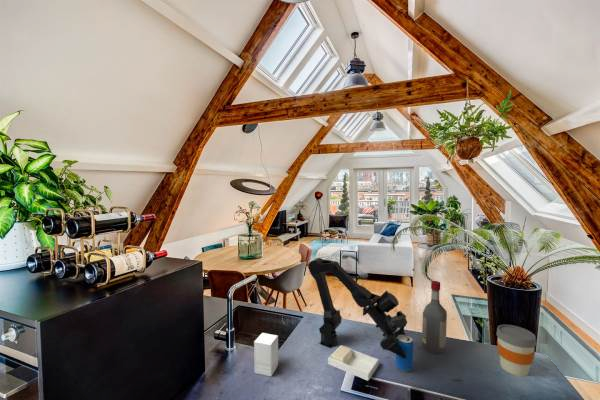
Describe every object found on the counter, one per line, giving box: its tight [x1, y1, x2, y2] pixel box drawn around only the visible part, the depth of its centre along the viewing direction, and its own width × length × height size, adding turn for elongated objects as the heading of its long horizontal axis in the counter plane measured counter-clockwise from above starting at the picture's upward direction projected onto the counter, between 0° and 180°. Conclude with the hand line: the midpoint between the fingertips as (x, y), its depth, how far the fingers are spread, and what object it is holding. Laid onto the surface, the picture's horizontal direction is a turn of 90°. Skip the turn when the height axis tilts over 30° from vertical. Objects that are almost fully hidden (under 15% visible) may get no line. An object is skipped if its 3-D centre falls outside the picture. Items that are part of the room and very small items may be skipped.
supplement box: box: [253, 332, 279, 377], centre depth 112 cm, size 7×7×13 cm
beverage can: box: [395, 334, 414, 372], centre depth 113 cm, size 6×6×12 cm
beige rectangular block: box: [331, 345, 353, 364], centre depth 117 cm, size 5×8×4 cm, turn 145°
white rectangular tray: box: [327, 345, 380, 381], centre depth 114 cm, size 17×11×3 cm, turn 55°
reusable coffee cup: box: [495, 324, 537, 377], centre depth 113 cm, size 13×13×15 cm
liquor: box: [421, 280, 448, 355], centre depth 127 cm, size 9×9×30 cm
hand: (407, 351), depth 113 cm, fingers open, 9 cm apart
